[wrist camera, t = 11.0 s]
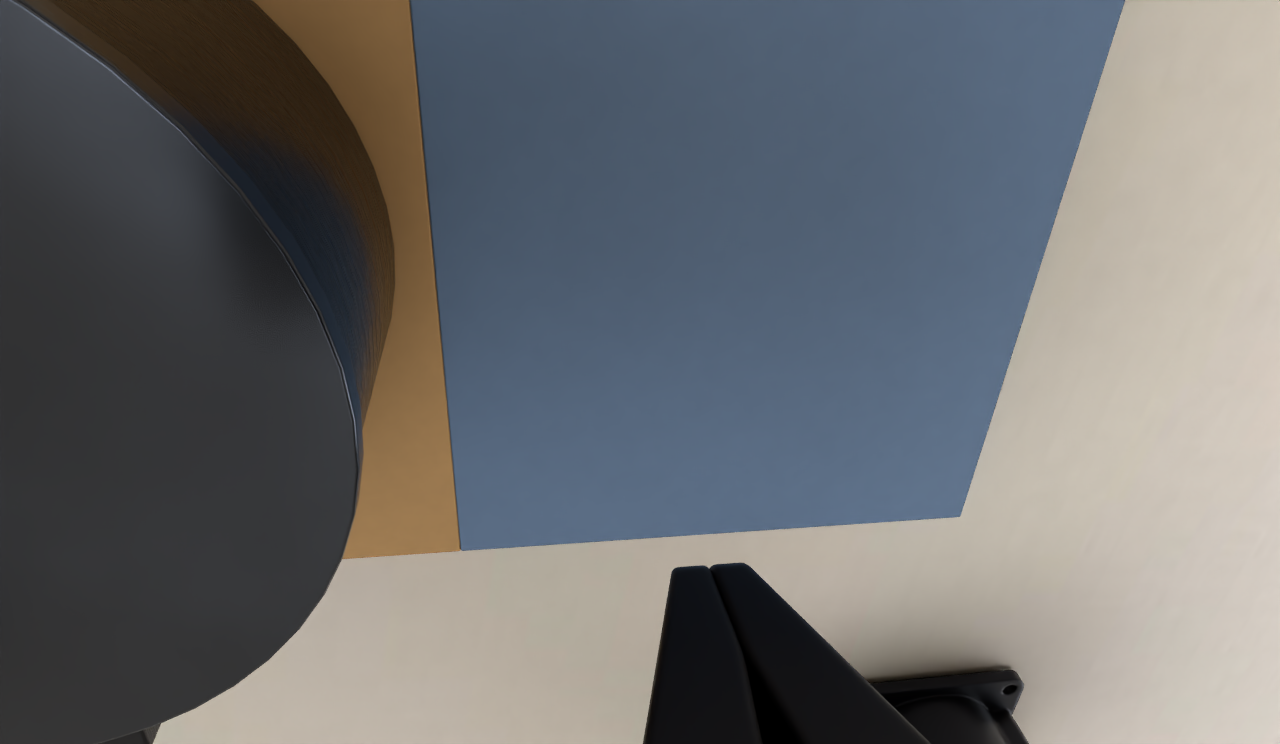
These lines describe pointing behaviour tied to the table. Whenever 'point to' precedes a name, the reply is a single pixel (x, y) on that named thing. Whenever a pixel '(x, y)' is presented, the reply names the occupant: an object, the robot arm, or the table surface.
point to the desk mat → (697, 253)
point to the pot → (172, 355)
